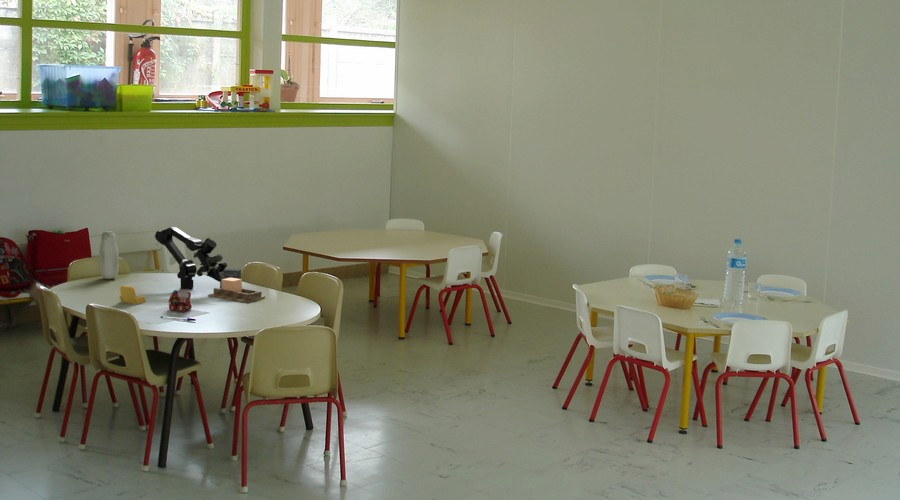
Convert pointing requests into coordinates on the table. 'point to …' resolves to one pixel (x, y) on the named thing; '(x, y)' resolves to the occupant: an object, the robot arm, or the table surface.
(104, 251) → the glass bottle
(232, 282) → the slider block
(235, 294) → the tray
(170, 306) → the toy fire truck
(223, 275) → the small box
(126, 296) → the yellow l-shaped block
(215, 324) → the table surface
